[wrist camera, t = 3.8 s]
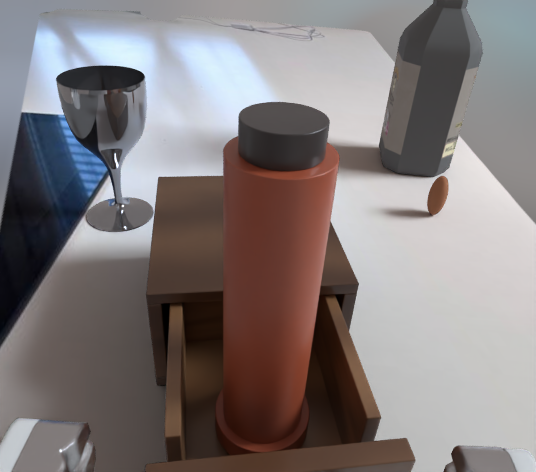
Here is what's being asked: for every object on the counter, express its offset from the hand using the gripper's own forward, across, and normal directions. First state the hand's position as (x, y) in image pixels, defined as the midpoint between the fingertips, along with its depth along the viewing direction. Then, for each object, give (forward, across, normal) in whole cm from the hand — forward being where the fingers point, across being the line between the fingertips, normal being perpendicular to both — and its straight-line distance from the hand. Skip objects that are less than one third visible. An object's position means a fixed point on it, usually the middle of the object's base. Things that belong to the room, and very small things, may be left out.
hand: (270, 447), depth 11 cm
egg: (+43, -19, +19) cm, 51 cm away
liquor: (+57, -19, +19) cm, 63 cm away
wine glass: (+39, +17, +19) cm, 46 cm away
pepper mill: (+12, 0, +17) cm, 21 cm away
